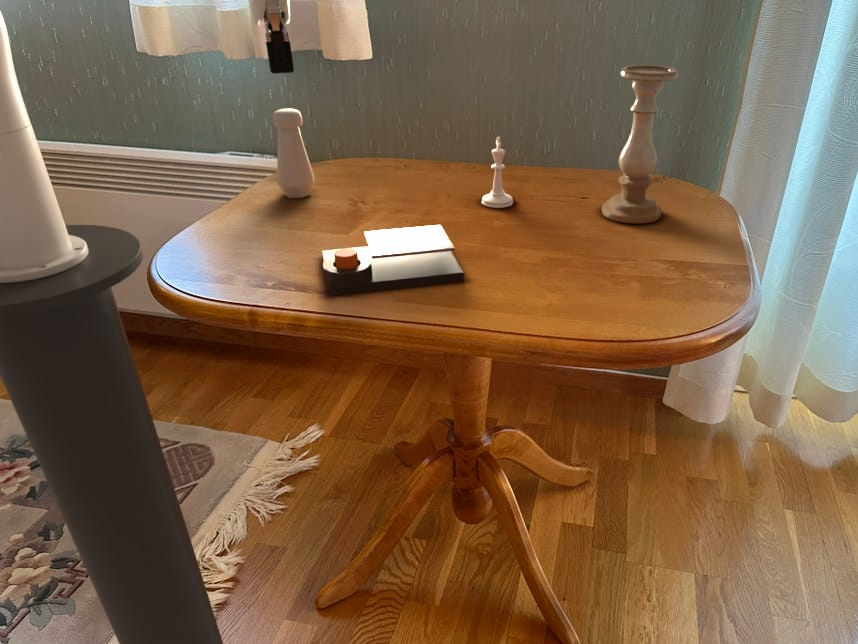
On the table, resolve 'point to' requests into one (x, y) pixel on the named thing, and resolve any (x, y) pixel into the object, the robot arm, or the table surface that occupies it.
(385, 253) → the weighing plate
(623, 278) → the table surface
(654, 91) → the candle holder
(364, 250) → the scale
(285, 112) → the salt shaker
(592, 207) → the table surface
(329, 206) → the table surface
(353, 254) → the button
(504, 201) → the chess piece
